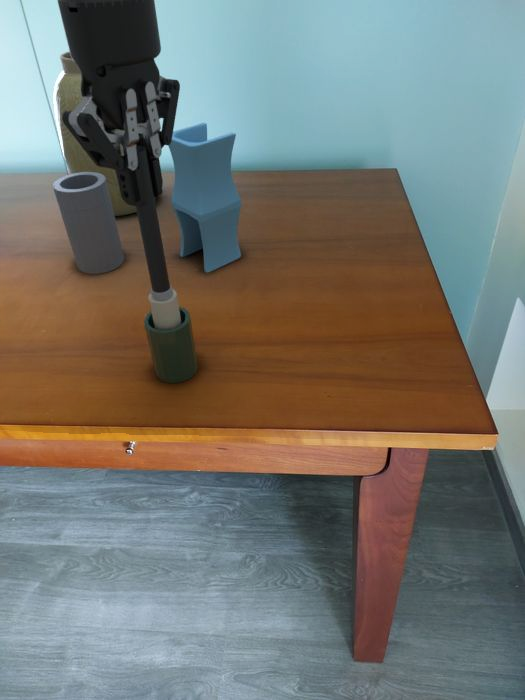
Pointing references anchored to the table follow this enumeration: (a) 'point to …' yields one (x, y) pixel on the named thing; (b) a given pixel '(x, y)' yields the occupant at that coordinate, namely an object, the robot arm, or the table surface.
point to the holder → (172, 349)
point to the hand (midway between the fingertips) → (144, 198)
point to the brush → (155, 255)
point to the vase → (74, 154)
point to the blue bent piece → (205, 195)
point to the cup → (89, 221)
